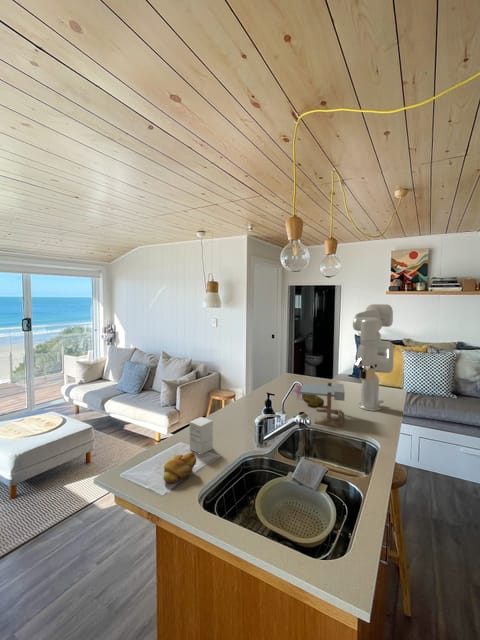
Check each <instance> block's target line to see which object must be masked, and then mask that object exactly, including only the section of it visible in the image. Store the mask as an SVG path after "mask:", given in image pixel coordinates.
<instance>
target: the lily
mask: <svg viewBox="0 0 480 640" xmlns="http://www.w3.org/2000/svg"><path fill="white" fill-rule="evenodd" d="M302 384H307V381H305V382H303V383H302ZM301 389H302V386H301V385H300V384H298V383H297V384H296V383H295V388H293V389H291V390H292V392H291V393H293V394H295V395H296V400H297V399H298V400H300V399H301V398H302V394H300V392H301Z"/></svg>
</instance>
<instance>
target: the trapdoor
mask: <svg viewBox="0 0 480 640" xmlns="http://www.w3.org/2000/svg"><path fill="white" fill-rule="evenodd" d="M302 384H303V383H302ZM327 392H332V393H331V398H332V397H333V400H334V401H340V402H341V401H343V402H345V396H346V395H345V393H346V392H345V385H344V384H343V383H333V385H331V386H328V385H321V384H310V383H306V384H303V386H302V389H301V392H300V394H310V395H317V396H323V397H327Z"/></svg>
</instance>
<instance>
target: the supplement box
mask: <svg viewBox="0 0 480 640" xmlns="http://www.w3.org/2000/svg"><path fill="white" fill-rule="evenodd" d="M213 421H214V420H212V419H209V418H206V417H202V416H200V417H197V418H196V419H194V420H191V421H189V450H190V451H191V452H194V451H195V452H194V453H196V452H197V454H198V453H200V454H202V455H203V453H204V454H205V453H208V452H209V451H211V450H212V449H213V448H214V437H213V436H214V434H213V432H214V431H213V430H214V426H213ZM200 454H199V455H200Z"/></svg>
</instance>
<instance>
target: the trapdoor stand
mask: <svg viewBox="0 0 480 640" xmlns="http://www.w3.org/2000/svg"><path fill="white" fill-rule="evenodd" d="M327 386H332V382H327ZM331 393H332V392H327V396H326V397H327V398H326V402H327V403H326V408H324V407H319V406H316V412H323V413H326V419H317V418H316V419H314V425H324V426H331V427H332V426H333V427H341V428H343V427H344V423H343V421H344V420H343V413H342V412H343V411H342V409H337V408H336V409H335V408H332V396H331ZM332 414H337V417H338V419H337V420H338V421H334V420H332Z"/></svg>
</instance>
